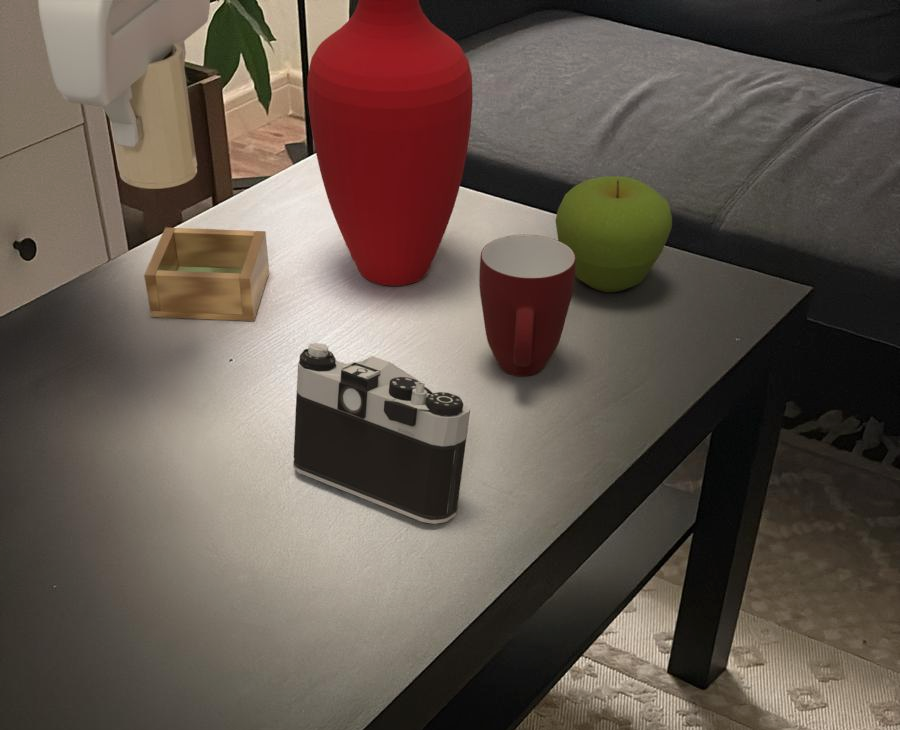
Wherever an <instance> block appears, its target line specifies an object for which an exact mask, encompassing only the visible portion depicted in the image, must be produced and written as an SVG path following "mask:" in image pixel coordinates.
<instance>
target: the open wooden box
mask: <svg viewBox="0 0 900 730" xmlns="http://www.w3.org/2000/svg"><path fill="white" fill-rule="evenodd" d="M269 266H270V265H269V254H268V244H267V233H266V230H243V229H242V230H241V229H217V228H192V227H191V228H189V227H164V229H163V232H162V234H161V236H160V238H159V240H158V242H157V245H156V247H155V250H154V252H153V254H152V256H151V258H150V261H149V262H148V266H147V267H146V270H145V272H144V274H143V277H144V282H145V283H144V284H145V288H146V293H147V295H146V296H147V300H148V305H149V313H150V318H164V319H165V318H169V319H191V320H194V319H195V320H214V321H215V320H216V321H217V320H218V321H241V322H242V321H243V322H255V319H256V317H257V313H258V311H259V307H260V303H261V300H262V297H263V294H264V291H265V288H266V285H267V284H266V283H267V281H268V277H269V275H270V267H269Z"/></svg>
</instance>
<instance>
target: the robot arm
mask: <svg viewBox="0 0 900 730" xmlns="http://www.w3.org/2000/svg"><path fill="white" fill-rule="evenodd" d="M37 5H38V7H37V8H38V14H39V20H40V25H41V31H42V36H43V40H44V45H45V48H46V53H47V59H48V63H49V67H50V70H51V71H50V72H51V75H52V78H53V79H52V80H53V82H54V85H55V87H56V89H57V90H58V92H59V93H60V94H61V95H62V97H63V98H64V99H65V101H67V102H69V103H72V104H79V105H86V106H95V107H101V108H102V109H103V111H104V112H105V114H106V116H107V117H108V119H109V121H110V120H111V121H112V126H113V132H114V137H115V141H116V142H117V144H119V145H120V146H128V147H134V146H135V145H136V144H138V143H139V142H140V141H141V140H142V139H143V137H144V132H143V130H142V120H141V116H135V114H134V112H133V109H132V107H131V105H130V102H129V100H130V99H131V98H132V91H131V85H132V84H133V83H134V82H135V81H137V80H138V79H139V78H140V77H142V76H143V75H144V74H145V73H146V72H147V65H148V64H149V63H154V62H157V61H161V60H162V59H163V58H164V57H166V56H167V55H168V54H169V53H170V52H172V50H173V43H175V42H176V43H178V44H179V45H180V47H181V49H182V53H183V61H184V64H185V62H186V56H187V55H186V54H187V53H186V52H187V51H186V45H185V44H186V43H185V41H186V40H187V39H189V38H190V37H192V35H194V34H195V33H196V32H197V31H199V30H200V29H201V28H202V27H203V26H204V25H206V24H207V23H208V21H209V15H210V9H211V0H37Z"/></svg>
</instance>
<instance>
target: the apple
mask: <svg viewBox="0 0 900 730" xmlns="http://www.w3.org/2000/svg"><path fill="white" fill-rule="evenodd" d="M555 227H556V233H557V234H556V236H557V240H558V241H560V242H562V243H564V244H566V245H567V246H568V247H570V248H571V249H572V251H573V252H574V254H575V257H576V264H575V277H576V278H577V279H579V280H580V281H581V282H583V283H584V284H585V285H587V286H588V287H589V288H592V289H594V290H596V291H599V292H603V293H611V294H612V293H618V292H621V291H624V290H628V289H629V288H632V287H634V286H636V285H638V284H640V283H641V282H642V281H643V280H644V279H645V277H646V276H647V275H648V273H649V272H650V270H651V269H652V267H653V266H654V264H655V263H656V262H657V260H658V258H660V256H661V254H662V253H663V250H664V248H665V246H666V243H667V242H668V238H669V236H670V233H671V231H672V227H673V215H672V211H671V207H670V202H669V201H668V200H667V199H666V198H665V197H664V196H662V195H661V194H660V193H659V192H658V191H656V190H655V189H653V187H651V186H649V185H648V184H646V183H644V182H643V181H641V180H639V179H635V178H632V177H629V176H617V175H616V176H614V175H611V176H597V177H592V178H590V179H586V180H584V181H582V182H580V183H578V184H577V185H575V186H573V187H572V188H571V189H570V190H569V191H567V192H566V193H565V194H564V197H563V198H562V201H561V203H560V204H559V206H558V209H557V210H556V216H555Z"/></svg>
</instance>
